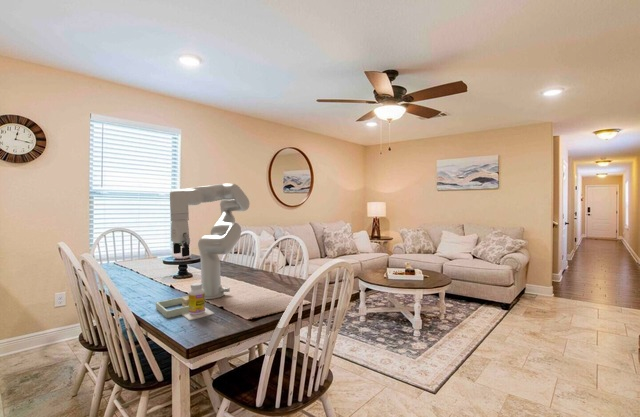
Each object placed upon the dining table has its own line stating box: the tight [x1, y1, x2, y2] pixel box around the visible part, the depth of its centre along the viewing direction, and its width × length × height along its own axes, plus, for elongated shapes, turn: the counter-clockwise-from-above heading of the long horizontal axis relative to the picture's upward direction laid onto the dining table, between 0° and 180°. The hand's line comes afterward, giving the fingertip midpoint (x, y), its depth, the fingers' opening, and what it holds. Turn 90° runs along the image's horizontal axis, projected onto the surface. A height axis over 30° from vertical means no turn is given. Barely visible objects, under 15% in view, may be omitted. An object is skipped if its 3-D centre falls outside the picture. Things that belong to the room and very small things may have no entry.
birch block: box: [181, 295, 189, 308], centre depth 158 cm, size 4×4×4 cm
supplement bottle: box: [188, 282, 206, 315], centre depth 148 cm, size 7×7×13 cm
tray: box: [155, 295, 189, 319], centre depth 155 cm, size 16×16×3 cm
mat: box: [180, 307, 215, 321], centre depth 149 cm, size 11×11×1 cm
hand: (181, 254), depth 153 cm, fingers open, 9 cm apart
